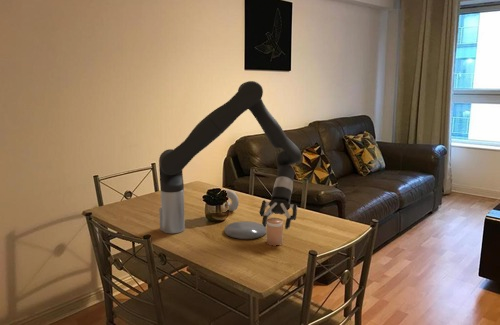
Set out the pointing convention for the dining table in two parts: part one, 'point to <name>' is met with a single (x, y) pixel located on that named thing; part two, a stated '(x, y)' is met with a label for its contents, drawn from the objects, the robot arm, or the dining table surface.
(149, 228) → the dining table surface
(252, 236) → the dish
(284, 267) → the dining table surface
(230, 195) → the donut
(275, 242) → the pink cylinder
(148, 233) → the dining table surface
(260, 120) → the robot arm
